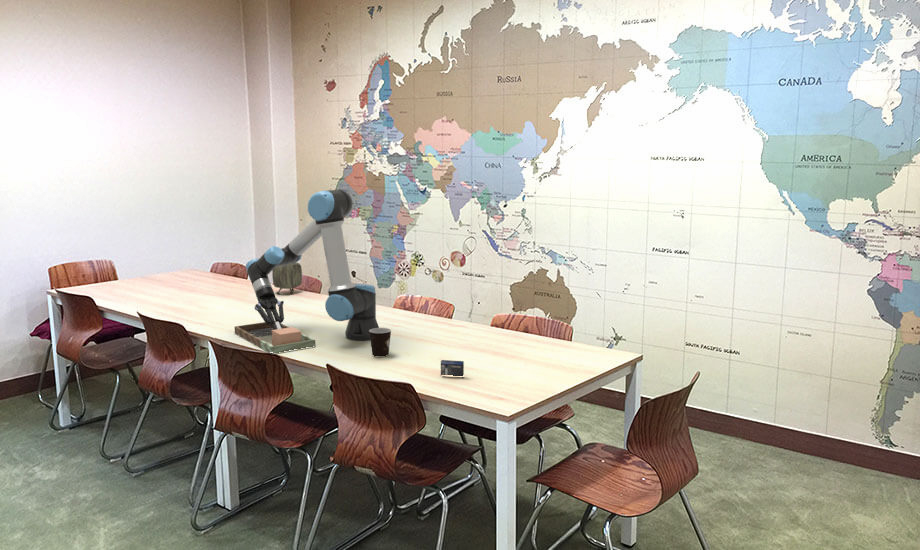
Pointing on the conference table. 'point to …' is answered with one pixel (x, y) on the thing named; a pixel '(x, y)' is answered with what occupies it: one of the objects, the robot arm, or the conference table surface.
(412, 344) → the conference table surface
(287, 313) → the conference table surface
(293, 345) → the wooden tray
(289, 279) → the tabletop clock
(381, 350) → the coffee mug
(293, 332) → the terracotta block
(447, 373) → the mini dv tape
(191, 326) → the conference table surface
